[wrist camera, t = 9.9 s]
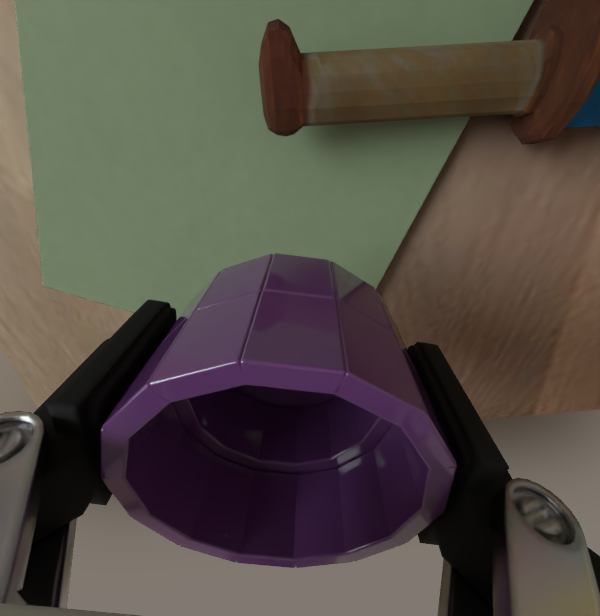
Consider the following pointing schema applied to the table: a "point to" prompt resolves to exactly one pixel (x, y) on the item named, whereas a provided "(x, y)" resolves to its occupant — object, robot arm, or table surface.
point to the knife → (443, 79)
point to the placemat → (218, 140)
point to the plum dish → (280, 423)
